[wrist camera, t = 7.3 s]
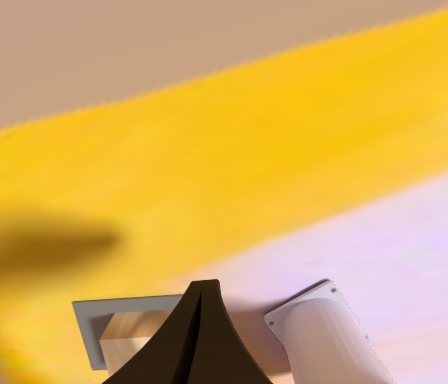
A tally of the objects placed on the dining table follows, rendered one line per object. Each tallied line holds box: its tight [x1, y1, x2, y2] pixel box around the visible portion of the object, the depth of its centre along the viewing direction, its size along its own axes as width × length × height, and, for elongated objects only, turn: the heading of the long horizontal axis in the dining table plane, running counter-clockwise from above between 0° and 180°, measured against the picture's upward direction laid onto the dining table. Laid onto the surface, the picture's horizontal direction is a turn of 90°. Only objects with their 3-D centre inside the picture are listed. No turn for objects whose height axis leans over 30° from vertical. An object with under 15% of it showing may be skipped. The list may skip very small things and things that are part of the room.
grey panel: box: [72, 294, 184, 370], centre depth 25 cm, size 13×9×1 cm
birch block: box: [99, 309, 174, 377], centre depth 24 cm, size 3×6×7 cm
